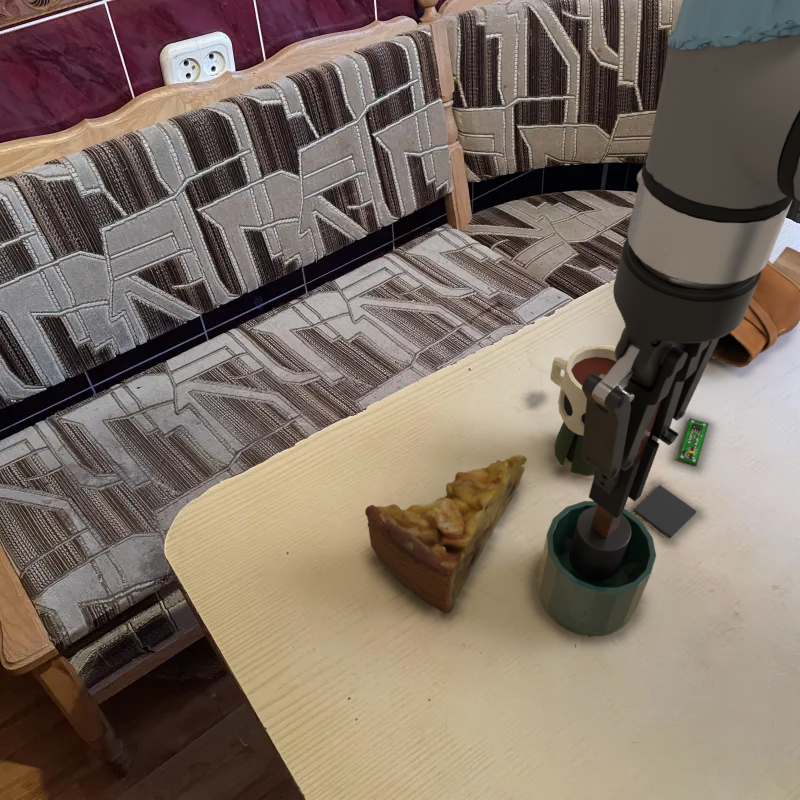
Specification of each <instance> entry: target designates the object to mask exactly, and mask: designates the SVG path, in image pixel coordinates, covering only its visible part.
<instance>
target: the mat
mask: <svg viewBox="0 0 800 800" xmlns="http://www.w3.org/2000/svg"><path fill="white" fill-rule="evenodd" d="M632 512H633V513H635V514H636V515H637V516H638V517H640V518H641V519H643V520H644V521H646V523H648V524H650V525H651V527H654V529H656V530H657V531H659V532H660V533H662V534H663V535H664V536H666V537H667V538H668V539H671V538H672V537H673V536H674V535H675V534H676V533H677V532H678V531H679V530H681V528H682V527H683V526H684V525H686V523H687V522H689V521H690V520H691V519H692V518H693V516H695V515H696V514H697V510H696V509H694V507H692V506H690V505H689V504H687V502H685V501H683V500H682V499H681V498H679V497H678V496H677V495H675V494H673V493H672V492H671V491H669V490H668V489H666V488H665V487H663V486H662V485H660V484H659V485H658V486H657V487H655V488H654V490H652V491H651V492H650V493H649V494H648V495H647V496H645V497H644V499H642V501H640V503H638V504H637V505H636V506H635V507H634V508H633V510H632Z"/></svg>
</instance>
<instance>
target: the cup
mask: <svg viewBox="0 0 800 800" xmlns="http://www.w3.org/2000/svg"><path fill="white" fill-rule="evenodd" d="M594 506H597V503H595V502H594V501H593V500H583V501H580V502H577V503H574V504H571V505H568V506H566V507H564V508H563V509H562V510H561V511H560V512H558V513H557V514H556V515H555V516H554V517H553V518H552V520H551V522H550V525H549V528H548V530H547V533H546V535H545V539H544V540H545V541H544V545H543V550H542V556H541V560H540V564H539V569H538V574H537V594H538V598H539V600H540V603H541V606H542V607H543V609H544V611H545V612H546V614H548V616H549V617H550V618H551V619H552V620H553V621H554V622H555V623H556V624H558V625H559V626H560V627H562V628H563V629H565V630H567V631H569V632H571V633H574V634H577V635H579V636H584V637H585V636H586V637H603V636H604V637H605V636H608V635H612V634H614V633H616V632H618V631H619V630H621V629H622V628H624V627H625V626H626V625H627V624H628V623H629V621H630V620H631V619H632V617H633V616H634V614H635V612H636V610H637V608H638V605H639V603H640V601H641V599H642V597H643V594H644V592H645V589H646V586H647V585H648V582H649V579H650V578H651V575H652V573H653V569H654V566H655V562H656V559H657V553H656V547H655V541H654V537H653V536H652V535H651V533H650V531H649V530H648V529H647V527H646V526H645V524H644V523H643V521H642V520H641V519H640V518H638V517H636V516H635V514H632V512H630V511H629V510H627V509H626V508H624V511H623V514H622V515H624V517H625V518H626V519H627V520H628V522H629V524H630V527H631V537H630V540H629V543H628V546H627V548H626V551H625V554H624V556H623V559H622V562H621V564H620V567H619V570H618V571H617V573H616V574H615V575H614V576H613V577H611V578H609V579H607V580H603V581H593V580H589V579H586V578H584V577H583V576H581V575H580V574H578V573H577V572H576V571H575V570H574V568H573V567H572V565H571V563H570V560H569V551H570V547H571V543H572V540H573V536H574V532H575V529H576V525H577V521H578V518H579V516H580V515H581V513H582V512H583V511H585V510H586V509H588V508H590V507H594Z"/></svg>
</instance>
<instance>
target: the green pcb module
mask: <svg viewBox="0 0 800 800" xmlns="http://www.w3.org/2000/svg"><path fill="white" fill-rule="evenodd" d="M709 425H710V424H709V423H708V422H705V421H702V420H697V419H695V418H691V417H689V419H688V422H687V426H686V429H685V433H684V436H683V439H682V443H681V446H680V449H679V452H678V455H677V458H676V461H679V462H682V463H685V464H688V465H693V466H695V467H697V465H698V463H699V458H700V456H701V452H702V448H703V445H704V441H705V438H706V434H707V432H708V431H707V430H708V427H709Z"/></svg>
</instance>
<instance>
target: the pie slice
mask: <svg viewBox="0 0 800 800" xmlns="http://www.w3.org/2000/svg"><path fill="white" fill-rule="evenodd" d="M527 460H528V457H526V456H525V455H512V456H510V457H509V458H506V459H504V460H501V459H499V458H498V459H496V461H495V462H492V463H490V464H489V465H488V466H486V467H479V468H475V469H472V470H469V471H463V472H462V471H457V472H456V474H455V477H454V480H453V481H452V482H447V483H446V485H445V493H446V495H445V496H443V497H439V498H438V499H436V500H434V501H433V502H431V503H428V504H422V505H420V504H414V505H411V506H409V507H408V508H406V509H401V508H400V507H399V506H398V505H397V504H394V503H392V504H390V505H387V506H381V505H380V506H376V505H374V504H370V505H368V506H367V507H366V508H365V510H364V512H365V513H364V514H365V516H366V519H367V528H368V533H369V534H368V535H369V540H370V546H371V548H372V550H373V551H374V553H375V555H376V557H377V558H378V560H379V561H380V562H381V564H382V565H383V566H384V567H385V569H386V570H387V571H388V572H389V573H390V574H391V575H392V576H393V577H394V578H395V579H396V580H397V581H398V582H399V583H400V584H401V585H402V586H403V587H405V588H406V589H407V590H408V591H410V592H411V593H412V594H414V595H415V596H416V597H417V598H419V599H420V600H421V601H423V602H424V603H426V604H427V605H430V606H431V607H433V608H435V609H436V610H439V611H440V612H442V613H445V614H448V613H450V612H451V611H452V609H453V608H454V607H455V601H456V598H457V595H458V594H459V592H460V590H461V589H462V588H463V586H464V584H465V583H466V581H467V579H468V578H469V576H470V573H471V572H472V569H473V566H474V565H475V564H476V562H477V560H478V559H479V557H480V555H481V554H482V552H483V550H484V547H485V545H486V543H487V541H489V539H490V537H491V535H492V534H493V532H494V529H495V528H496V525H497V524H498V523H499V520H500V518H501V517H502V516H503V514H504V512H505V511H506V508H507V507H508V506H509V504H510V502H511V500H512V499H513V496H514V493H515V491H516V490H517V489H518V487H519V485H520V482H521V478H522V477H523V474H524V472H525V466H524V465H525V464H526V463H527V462H526V461H527Z"/></svg>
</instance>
